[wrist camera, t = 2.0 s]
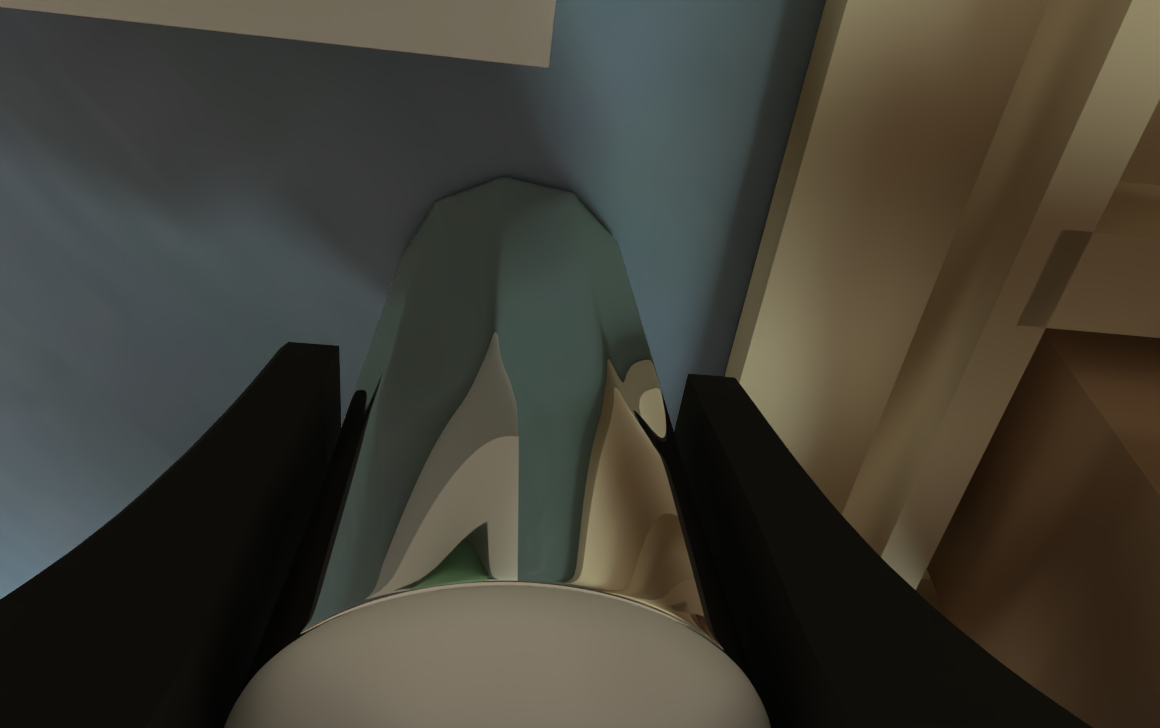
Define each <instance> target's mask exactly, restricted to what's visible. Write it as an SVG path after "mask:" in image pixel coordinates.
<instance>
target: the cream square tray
mask: <svg viewBox="0 0 1160 728" xmlns="http://www.w3.org/2000/svg"><path fill="white" fill-rule="evenodd" d="M555 5H556V0H0V7H5V8H14V9H23V10H32V11H41V12H50V13H59V14H68V15H77V16H86V17H95V18H104V19H113V20H122V21H131V22H140V23H149V24H158V25H167V26H176V27H185V28H194V29H203V30H212V31H221V32H230V33H239V34H248V35H257V36H266V37H275V38H284V39H293V40H302V41H311V42H320V43H329V44H338V45H347V46H356V47H365V48H374V49H383V50H392V51H401V52H410V53H419V54H428V55H437V56H446V57H455V58H464V59H473V60H482V61H491V62H500V63H509V64H518V65H527V66H536V67H545V68H549V60H550V51H551V42H552V33H553V23H554V14H555Z"/></svg>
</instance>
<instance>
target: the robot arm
mask: <svg viewBox="0 0 1160 728" xmlns="http://www.w3.org/2000/svg"><path fill="white" fill-rule="evenodd" d="M340 431H341V403H340V361H339V346H333V345H320V344H308V343H295V342H288V343H287V344H285V345H284V346H283V347H281V348H280V349H279V350H278V352H277V353H276V354H275V355H274V356H273V358H272V359H271V360H270V361H269V363H268V364H267V365H266V366H265V367H264V369H263V370H262V371H261V372H260V373H259V375H258V376H257V377H256V378H255V379H254V380H253V382H252V383H251V384H250V385H249V386H248V387H247V388H246V390H245V391H244V392H243V393H242V394H241V395H240V396H239V397H238V399H237V400H236V401H235V402H234V403H233V404H232V405H231V406H230V407H229V409H228V410H227V411H226V412H225V413H224V414H223V415H222V416H221V417H220V418H219V419H218V420H217V421H216V422H215V423H214V424H213V425H212V426H211V427H210V428H209V429H208V430H207V432H206V433H205V434H204V435H203V436H202V437H201V438H200V439H199V440H198V441H197V442H196V443H195V444H194V445H193V446H192V447H191V448H190V449H189V450H188V451H187V452H186V453H185V454H184V455H183V456H182V457H181V458H180V459H179V460H178V461H176V462H175V463H174V464H173V465H172V466H171V467H170V468H169V469H168V470H167V471H166V472H165V473H163V474H162V475H161V476H160V477H159V478H158V479H157V480H156V481H155V482H154V483H153V484H152V485H150V486H149V487H148V488H147V489H146V490H145V491H144V492H143V493H142V494H141V495H140V496H138V497H137V498H136V499H135V500H134V501H133V502H131V503H130V504H129V505H128V506H127V507H126V508H124V509H123V510H122V511H121V512H120V513H118V514H117V515H116V516H115V517H114V518H112V519H111V520H110V521H109V522H107V523H106V524H105V525H104V526H103V527H101V528H100V529H99V530H97V531H96V532H95V533H94V534H92V535H91V536H90V537H88V538H87V539H86V540H85V541H83V542H82V543H81V544H79V545H78V546H77V547H75V548H74V549H73V550H71V551H70V552H69V553H67V554H66V555H65V556H63V557H62V558H60V559H59V560H58V561H56V562H55V563H53V564H52V565H50V566H49V567H48V568H46V569H45V570H43V571H42V572H40V573H39V574H38V575H36V576H35V577H33V578H32V579H30V580H29V581H28V582H26V583H25V584H23V585H22V586H20V587H19V588H17V589H16V590H14V591H13V592H11V593H10V594H8V595H7V596H5V597H4V598H2V599H1V600H0V728H224V727H225V724H226V721H227V719H228V717H229V714H230V712H231V710H232V708H233V707H234V705H235V703H236V701H237V700H238V698H239V695H240V692H241V689H242V687H243V684H244V682H245V679H246V676H247V674H248V671H249V669H250V666H251V664H252V661H253V659H254V656H255V653H256V651H257V648H258V646H259V643H260V641H261V638H262V636H263V633H264V631H265V628H266V625H267V623H268V620H269V618H270V615H271V613H272V610H273V608H274V605H275V603H276V600H277V597H278V595H279V592H280V590H281V587H282V585H283V582H284V580H285V577H286V575H287V572H288V569H289V567H290V564H291V562H292V559H293V557H294V554H295V552H296V549H297V547H298V544H299V542H300V539H301V536H302V534H303V531H304V529H305V526H306V524H307V521H308V519H309V516H310V514H311V511H312V509H313V506H314V504H315V501H316V499H317V496H318V494H319V491H320V488H321V486H322V483H323V480H324V478H325V475H326V472H327V469H328V466H329V463H330V461H331V458H332V455H333V452H334V449H335V446H336V443H337V440H338V437H339V434H340ZM674 435H675V438H676V442H677V445H678V449H679V452H680V456H681V459H682V463H683V466H684V469H685V473H686V476H687V479H688V482H689V486H690V489H691V492H692V495H693V498H694V501H695V504H696V507H697V510H698V513H699V516H700V519H701V522H702V525H703V528H704V531H705V534H706V537H707V540H708V543H709V546H710V549H711V552H712V555H713V558H714V561H715V564H716V567H717V570H718V573H719V576H720V579H721V582H722V585H723V588H724V591H725V594H726V597H727V600H728V603H729V606H730V609H731V612H732V615H733V618H734V621H735V624H736V627H737V630H738V633H739V636H740V639H741V642H742V645H743V648H744V650H745V653H746V656H747V659H748V662H749V665H750V668H751V671H752V674H753V677H754V680H755V683H756V686H757V689H758V693H759V696H760V699H761V701H762V703H763V705H764V708H765V710H766V713H767V715H768V718H769V721H770V725H771V728H1093V727H1091V726H1090V725H1088V724H1087V723H1085V722H1084V721H1082V720H1081V719H1079V718H1078V717H1076V716H1075V715H1073V714H1072V713H1071V712H1069V711H1068V710H1066V709H1065V708H1063V707H1062V706H1061V705H1059V704H1058V703H1056V702H1055V701H1053V700H1052V699H1050V698H1049V697H1048V696H1046V695H1045V694H1043V693H1042V692H1040V691H1039V690H1037V689H1036V688H1035V687H1033V686H1032V685H1031V684H1029V683H1028V682H1026V681H1025V680H1024V679H1022V678H1021V677H1020V676H1018V675H1017V674H1016V673H1014V672H1013V671H1012V670H1010V669H1009V668H1008V667H1006V666H1005V665H1004V664H1002V663H1001V662H1000V661H998V660H997V659H996V658H995V657H993V656H992V655H991V654H990V653H988V652H987V651H986V650H985V649H983V648H982V647H981V646H980V645H979V644H977V643H976V642H975V641H974V640H972V639H971V638H970V637H969V636H967V635H966V634H965V633H964V632H962V631H961V630H960V629H959V628H958V627H956V626H955V625H954V624H953V623H952V622H950V621H949V620H948V619H947V618H946V617H945V616H943V615H942V614H941V613H940V612H939V611H938V610H936V609H935V608H934V607H933V606H932V605H931V604H930V603H929V602H927V601H926V600H925V599H924V598H923V597H922V596H921V595H920V594H919V593H918V592H917V591H916V590H915V589H914V588H913V587H912V586H910V585H909V584H908V583H907V582H906V581H905V580H904V579H903V578H902V577H901V576H900V575H899V574H898V573H897V572H896V571H895V570H893V569H892V568H891V567H890V566H889V565H888V564H887V563H886V562H885V561H884V560H883V559H882V558H881V557H880V556H879V555H878V554H877V553H876V552H875V551H874V550H873V548H872V547H871V546H870V545H869V544H868V543H867V542H866V541H865V540H864V539H863V538H862V537H861V535H860V534H859V533H858V532H857V531H856V530H855V529H854V528H853V527H852V526H851V525H850V523H849V522H848V521H847V520H846V519H845V518H844V517H843V516H842V515H841V514H840V512H839V511H838V510H837V509H836V508H835V507H834V506H833V504H832V503H831V502H830V501H829V500H828V498H827V497H826V496H825V495H824V494H823V492H822V491H821V490H820V489H819V487H818V486H817V485H816V484H815V482H814V481H813V480H812V479H811V477H810V476H809V475H808V474H807V472H806V471H805V470H804V469H803V468H802V466H801V465H800V464H799V462H798V461H797V460H796V459H795V457H794V456H793V455H792V453H791V452H790V451H789V449H788V448H787V447H786V445H785V444H784V443H783V441H782V440H781V439H780V437H779V436H778V435H777V433H776V432H775V431H774V429H773V428H772V427H771V425H770V424H769V423H768V421H767V420H766V419H765V417H764V416H763V414H762V413H761V412H760V410H759V409H758V408H757V406H756V405H755V403H754V402H753V401H752V399H751V398H750V397H749V395H748V394H747V393H746V391H745V390H744V389H743V387H742V386H741V385H740V383H739V382H738V381H737V379H736V378H734V377H722V376H709V375H696V374H688V377H687V381H686V386H685V390H684V394H683V398H682V402H681V406H680V410H679V414H678V419H677V423H676V427H675V431H674Z"/></svg>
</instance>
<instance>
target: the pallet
mask: <svg viewBox="0 0 1160 728" xmlns="http://www.w3.org/2000/svg"><path fill="white" fill-rule="evenodd" d="M1046 328H1053V329H1064V330H1076V331H1087V332H1098V333H1110V334H1121V335H1132V336H1144V337H1155V338H1160V0H826V2H825V6H824V10H823V13H822V17H821V21H820V24H819V28H818V32H817V36H816V39H815V43H814V47H813V50H812V54H811V58H810V62H809V65H808V69H807V73H806V76H805V80H804V84H803V87H802V91H801V95H800V99H799V102H798V106H797V110H796V113H795V117H794V121H793V124H792V128H791V132H790V136H789V139H788V143H787V147H786V150H785V154H784V158H783V162H782V165H781V169H780V173H779V176H778V180H777V184H776V187H775V191H774V195H773V199H772V202H771V206H770V210H769V213H768V217H767V221H766V225H765V228H764V232H763V236H762V239H761V243H760V247H759V250H758V254H757V258H756V262H755V265H754V269H753V273H752V276H751V280H750V284H749V287H748V291H747V295H746V299H745V302H744V306H743V310H742V313H741V317H740V321H739V325H738V328H737V332H736V336H735V339H734V343H733V347H732V350H731V354H730V358H729V362H728V365H727V369H726V373H725V376H724V377H734V378H736V379H737V381H738V382H739V383H740V385H741V386H742V387H743V389H744V390H745V391H746V393H747V394H748V395H749V397H750V398H751V399H752V401H753V402H754V403H755V405H756V406H757V408H758V409H759V410H760V412H761V413H762V414H763V416H764V417H765V419H766V420H767V421H768V423H769V424H770V425H771V427H772V428H773V429H774V431H775V432H776V433H777V435H778V436H779V437H780V439H781V440H782V441H783V443H784V444H785V445H786V447H787V448H788V449H789V451H790V452H791V453H792V455H793V456H794V457H795V459H796V460H797V461H798V462H799V464H800V465H801V466H802V468H803V469H804V470H805V471H806V472H807V474H808V475H809V476H810V477H811V479H812V480H813V481H814V482H815V484H816V485H817V486H818V487H819V489H820V490H821V491H822V492H823V494H824V495H825V496H826V497H827V498H828V500H829V501H830V502H831V503H832V504H833V506H834V507H835V508H836V509H837V510H838V511H839V512H840V514H841V515H842V516H843V517H844V518H845V519H846V520H847V521H848V522H849V523H850V525H851V526H852V527H853V528H854V529H855V530H856V531H857V532H858V533H859V534H860V535H861V537H862V538H863V539H864V540H865V541H866V542H867V543H868V544H869V545H870V546H871V547H872V548H873V550H874V551H875V552H876V553H877V554H878V555H879V556H880V557H881V558H882V559H883V560H884V561H885V562H886V563H887V564H888V565H889V566H890V567H891V568H892V569H893V570H895V571H896V572H897V573H898V574H899V575H900V576H901V577H902V578H903V579H904V580H905V581H906V582H907V583H908V584H909V585H910V586H912V587H913V588H914V589H915V590H916V591H917V592H918V593H919V594H920V595H921V596H922V597H923V598H924V599H925V600H926V601H927V602H929V603H930V604H931V605H932V606H933V607H934V608H935V609H936V610H938V611H939V612H940V613H941V614H942V615H943V616H945V617H946V614H945V612H944V609H943V607H942V605H941V602H940V600H939V597H938V595H937V592H936V590H935V588H934V585H933V583H932V580H931V578H930V575H929V573H928V571H927V566H928V564H929V562H930V560H931V558H932V556H933V554H934V552H935V550H936V548H937V546H938V544H939V542H940V540H941V538H942V536H943V534H944V532H945V530H946V528H947V526H948V524H949V522H950V520H951V518H952V516H953V514H954V512H955V510H956V508H957V506H958V504H959V502H960V500H961V498H962V496H963V494H964V492H965V490H966V488H967V486H968V484H969V482H970V480H971V478H972V476H973V474H974V472H975V470H976V468H977V466H978V464H979V462H980V460H981V458H982V456H983V454H984V452H985V450H986V448H987V446H988V444H989V442H990V440H991V438H992V436H993V434H994V431H995V429H996V427H997V425H998V423H999V421H1000V419H1001V417H1002V415H1003V413H1004V411H1005V409H1006V407H1007V405H1008V403H1009V401H1010V399H1011V397H1012V395H1013V393H1014V391H1015V389H1016V387H1017V385H1018V383H1019V381H1020V379H1021V377H1022V375H1023V373H1024V371H1025V369H1026V367H1027V365H1028V363H1029V361H1030V359H1031V357H1032V355H1033V353H1034V351H1035V349H1036V347H1037V345H1038V343H1039V341H1040V339H1041V337H1042V335H1043V333H1044V331H1045V329H1046ZM946 618H947V617H946Z"/></svg>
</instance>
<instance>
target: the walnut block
mask: <svg viewBox="0 0 1160 728" xmlns="http://www.w3.org/2000/svg"><path fill="white" fill-rule="evenodd" d="M927 571H928V573H929V575H930V578H931V580H932V583H933V585H934V588H935V590H936V592H937V595H938V597H939V600H940V602H941V605H942V607H943V609H944V612H945V614H946V617H947V619H948V620H949V621H950V622H952V623H953V624H954V625H955V626H956V627H958V628H959V629H960V630H961V631H962V632H964V633H965V634H966V635H967V636H969V637H970V638H971V639H972V640H974V641H975V642H976V643H977V644H979V645H980V646H981V647H982V648H983V649H985V650H986V651H987V652H988V653H990V654H991V655H992V656H993V657H995V658H996V659H997V660H998V661H1000V662H1001V663H1002V664H1004V665H1005V666H1006V667H1008V668H1009V669H1010V670H1012V671H1013V672H1014V673H1016V674H1017V675H1018V676H1020V677H1021V678H1022V679H1024V680H1025V681H1026V682H1028V683H1029V684H1031V685H1032V686H1033V687H1035V688H1036V689H1037V690H1039V691H1040V692H1042V693H1043V694H1045V695H1046V696H1048V697H1049V698H1050V699H1052V700H1053V701H1055V702H1056V703H1058V704H1059V705H1061V706H1062V707H1063V708H1065V709H1066V710H1068V711H1069V712H1071V713H1072V714H1073V715H1075V716H1076V717H1078V718H1079V719H1081V720H1082V721H1084V722H1085V723H1087V724H1088V725H1090V726H1091V727H1093V728H1160V338H1155V337H1144V336H1132V335H1121V334H1110V333H1098V332H1087V331H1076V330H1064V329H1053V328H1046V329H1045V331H1044V333H1043V335H1042V337H1041V339H1040V341H1039V343H1038V345H1037V347H1036V349H1035V351H1034V353H1033V355H1032V357H1031V359H1030V361H1029V363H1028V365H1027V367H1026V369H1025V371H1024V373H1023V375H1022V377H1021V379H1020V381H1019V383H1018V385H1017V387H1016V389H1015V391H1014V393H1013V395H1012V397H1011V399H1010V401H1009V403H1008V405H1007V407H1006V409H1005V411H1004V413H1003V415H1002V417H1001V419H1000V421H999V423H998V425H997V427H996V429H995V431H994V434H993V436H992V438H991V440H990V442H989V444H988V446H987V448H986V450H985V452H984V454H983V456H982V458H981V460H980V462H979V464H978V466H977V468H976V470H975V472H974V474H973V476H972V478H971V480H970V482H969V484H968V486H967V488H966V490H965V492H964V494H963V496H962V498H961V500H960V502H959V504H958V506H957V508H956V510H955V512H954V514H953V516H952V518H951V520H950V522H949V524H948V526H947V528H946V530H945V532H944V534H943V536H942V538H941V540H940V542H939V544H938V546H937V548H936V550H935V552H934V554H933V556H932V558H931V560H930V562H929V564H928V566H927Z"/></svg>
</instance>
